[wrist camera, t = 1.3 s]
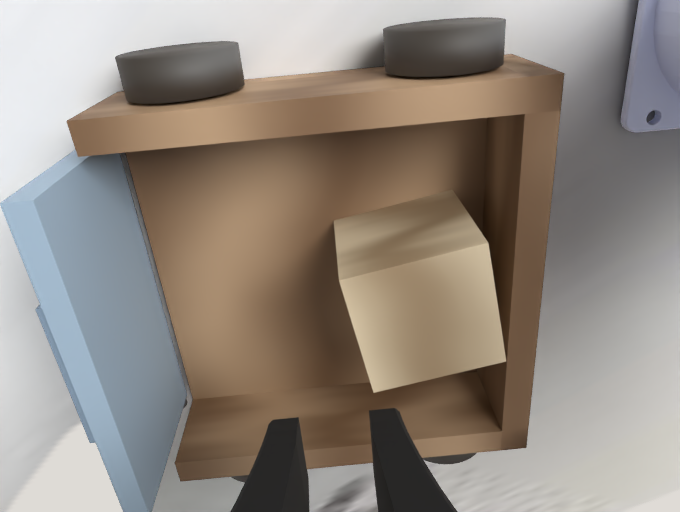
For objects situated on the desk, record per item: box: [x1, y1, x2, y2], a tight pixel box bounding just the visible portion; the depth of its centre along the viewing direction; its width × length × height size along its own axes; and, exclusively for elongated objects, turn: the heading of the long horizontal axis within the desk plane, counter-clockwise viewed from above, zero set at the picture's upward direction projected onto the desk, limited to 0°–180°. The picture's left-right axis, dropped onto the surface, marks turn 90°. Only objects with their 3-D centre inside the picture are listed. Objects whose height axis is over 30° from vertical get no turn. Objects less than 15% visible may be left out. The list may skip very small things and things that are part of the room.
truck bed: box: [67, 18, 564, 482], centre depth 20 cm, size 14×17×4 cm
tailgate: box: [0, 150, 187, 512], centre depth 18 cm, size 1×12×6 cm, turn 5°
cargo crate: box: [334, 190, 506, 393], centre depth 19 cm, size 4×4×4 cm
